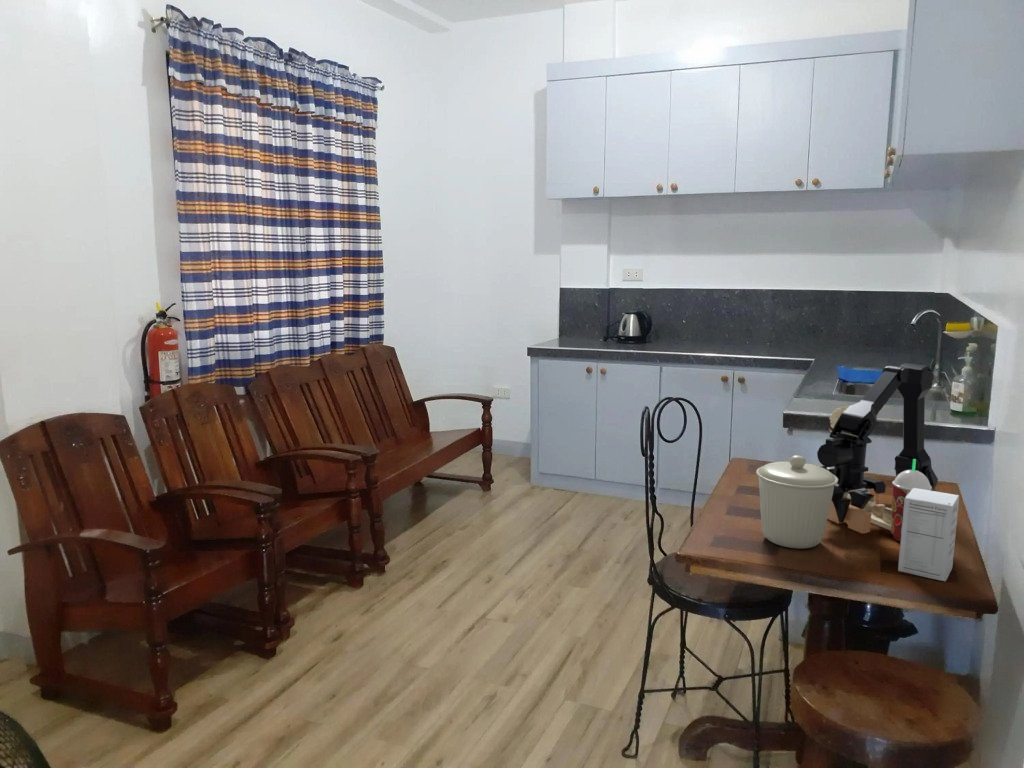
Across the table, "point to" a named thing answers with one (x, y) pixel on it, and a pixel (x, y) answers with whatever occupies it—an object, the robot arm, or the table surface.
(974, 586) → the table surface
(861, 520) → the tapered tan board
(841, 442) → the robot arm
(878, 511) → the display stand
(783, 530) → the canister
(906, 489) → the smoothie
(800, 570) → the table surface
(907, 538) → the supplement box
